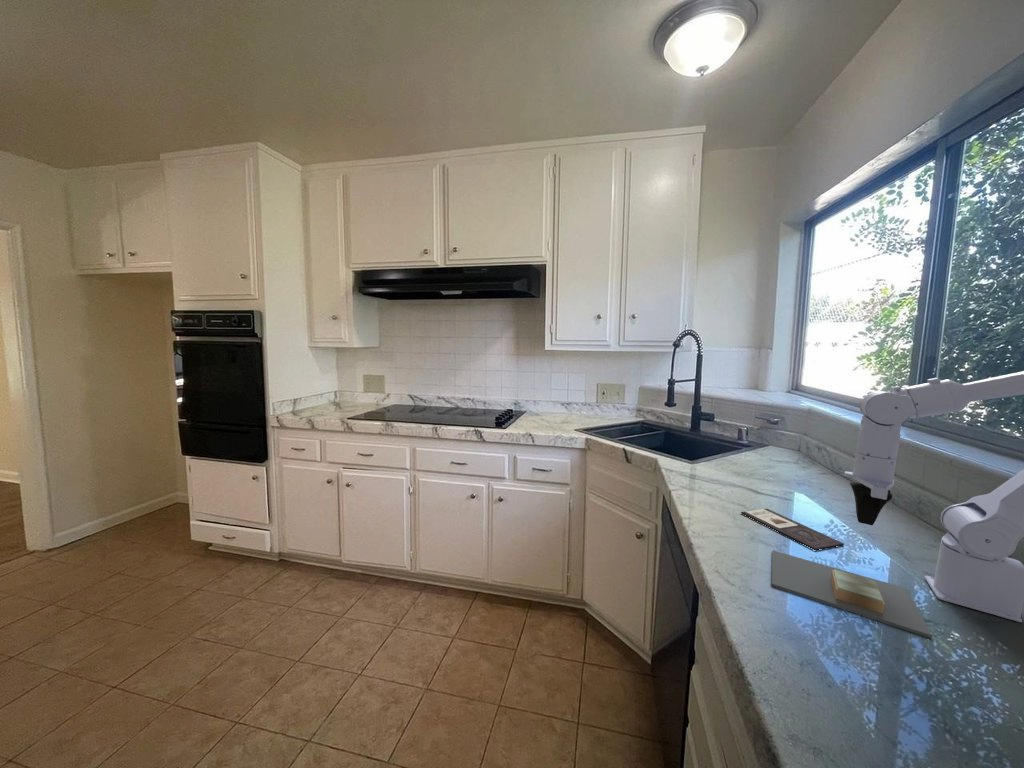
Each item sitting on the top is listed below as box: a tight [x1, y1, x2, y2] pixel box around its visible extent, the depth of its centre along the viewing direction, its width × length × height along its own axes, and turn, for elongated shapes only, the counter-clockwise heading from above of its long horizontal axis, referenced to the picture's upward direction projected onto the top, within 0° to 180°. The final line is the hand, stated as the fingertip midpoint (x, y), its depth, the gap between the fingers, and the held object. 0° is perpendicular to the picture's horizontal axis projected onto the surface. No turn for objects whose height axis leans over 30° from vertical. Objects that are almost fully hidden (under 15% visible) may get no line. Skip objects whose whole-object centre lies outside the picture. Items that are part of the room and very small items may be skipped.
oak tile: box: [831, 569, 885, 614], centre depth 67 cm, size 6×2×7 cm
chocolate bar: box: [740, 508, 845, 551], centre depth 92 cm, size 9×1×18 cm
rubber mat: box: [771, 550, 933, 639], centre depth 69 cm, size 20×14×1 cm
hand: (865, 522), depth 75 cm, fingers closed
